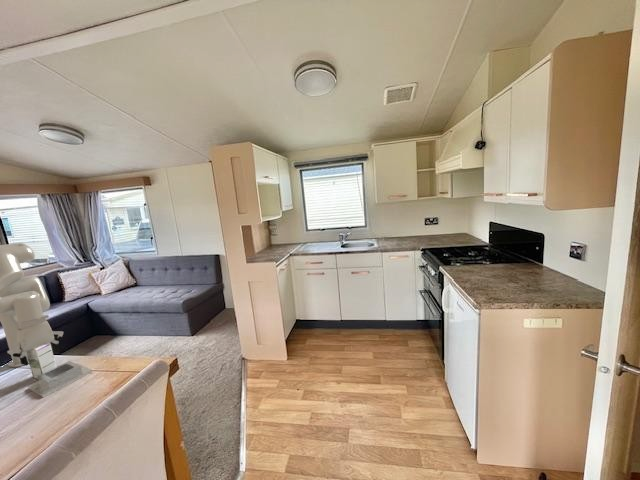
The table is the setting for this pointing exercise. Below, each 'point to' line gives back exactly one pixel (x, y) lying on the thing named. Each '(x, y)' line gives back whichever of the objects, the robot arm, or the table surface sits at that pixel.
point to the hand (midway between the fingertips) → (41, 358)
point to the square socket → (58, 378)
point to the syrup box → (41, 359)
